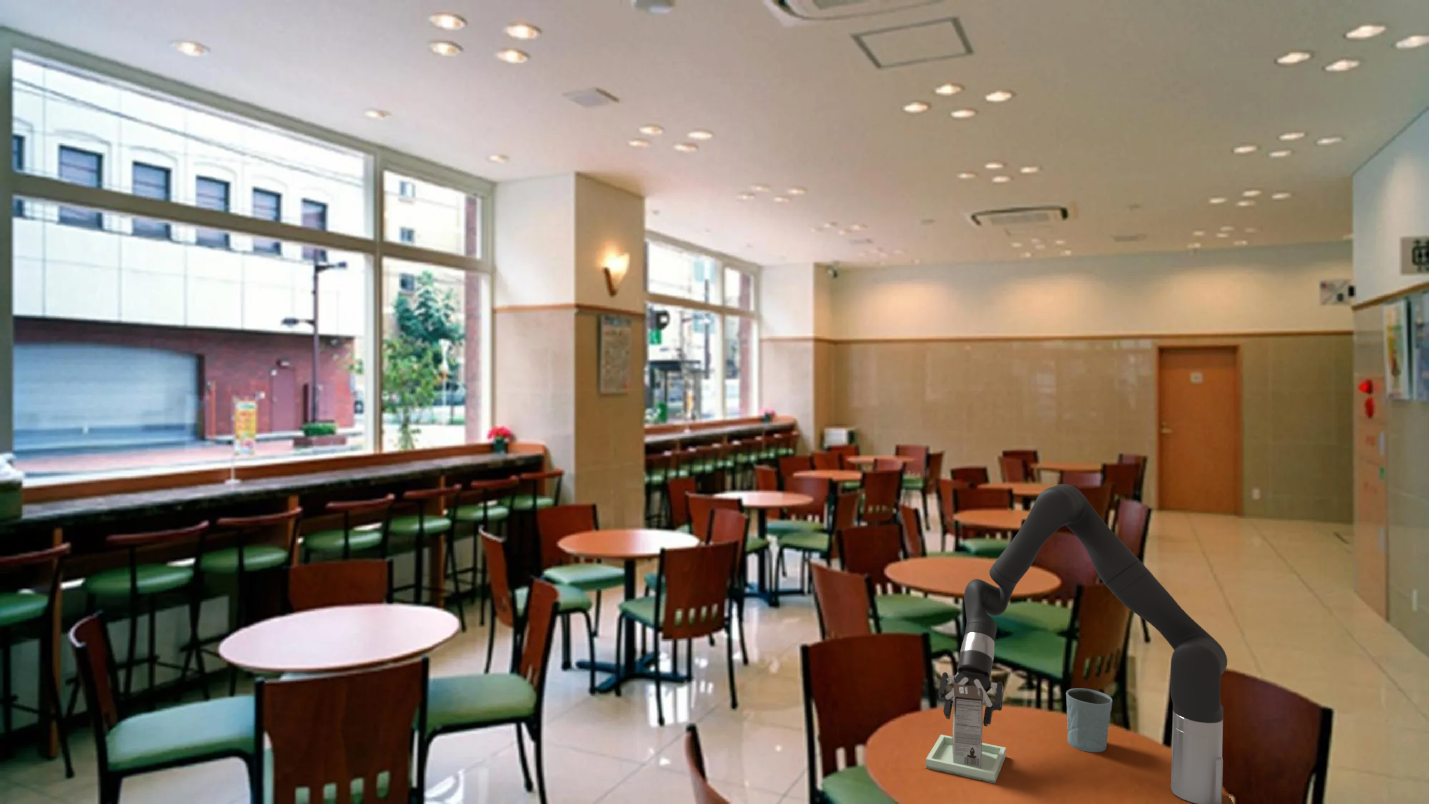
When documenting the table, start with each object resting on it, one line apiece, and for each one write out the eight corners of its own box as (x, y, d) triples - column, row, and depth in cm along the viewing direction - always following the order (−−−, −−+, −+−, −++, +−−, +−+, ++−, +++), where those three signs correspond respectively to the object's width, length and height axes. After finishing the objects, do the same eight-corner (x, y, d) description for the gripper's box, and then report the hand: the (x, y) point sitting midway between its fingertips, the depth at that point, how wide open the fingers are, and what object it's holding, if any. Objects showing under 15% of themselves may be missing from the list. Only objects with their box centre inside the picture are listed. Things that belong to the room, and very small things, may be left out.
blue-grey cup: (1059, 734, 209) (1060, 686, 209) (1102, 736, 208) (1103, 688, 208) (1073, 752, 199) (1074, 702, 199) (1117, 755, 198) (1118, 704, 198)
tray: (1005, 756, 197) (1005, 747, 197) (994, 783, 183) (995, 773, 183) (940, 742, 204) (940, 734, 204) (925, 767, 190) (925, 758, 190)
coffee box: (951, 748, 199) (953, 681, 198) (979, 751, 197) (981, 684, 197) (952, 766, 190) (954, 695, 189) (982, 769, 188) (984, 698, 188)
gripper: (944, 644, 203) (932, 707, 193) (1006, 653, 196) (997, 719, 186) (948, 659, 208) (937, 722, 198) (1009, 669, 201) (1000, 734, 191)
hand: (966, 721), depth 192 cm, fingers open, 8 cm apart
